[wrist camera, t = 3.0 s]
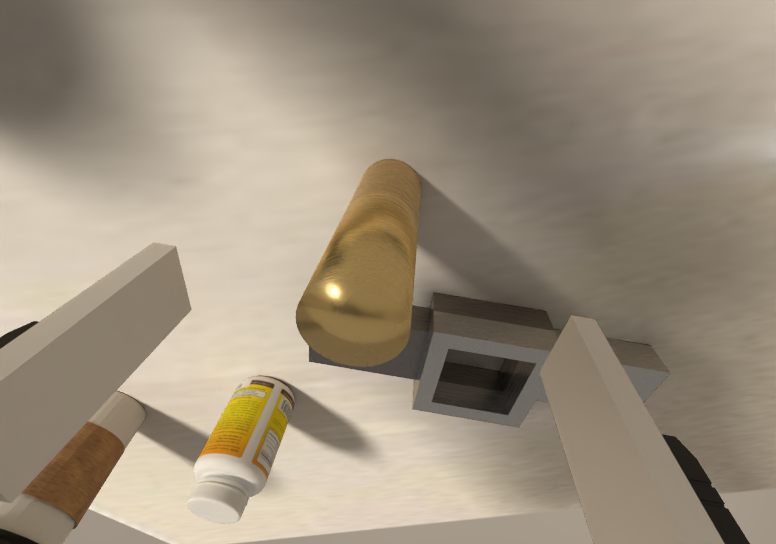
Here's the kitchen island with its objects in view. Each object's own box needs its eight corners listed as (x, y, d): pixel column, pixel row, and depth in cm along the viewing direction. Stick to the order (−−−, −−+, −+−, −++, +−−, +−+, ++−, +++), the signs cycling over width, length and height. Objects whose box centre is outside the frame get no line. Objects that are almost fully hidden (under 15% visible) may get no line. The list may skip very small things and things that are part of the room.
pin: (363, 154, 20) (294, 270, 10) (426, 164, 20) (419, 291, 10) (358, 212, 22) (297, 356, 12) (415, 221, 22) (401, 374, 12)
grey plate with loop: (317, 350, 29) (303, 390, 26) (319, 273, 25) (301, 309, 21) (607, 399, 29) (630, 446, 26) (662, 330, 24) (698, 376, 21)
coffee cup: (153, 393, 35) (4, 583, 23) (161, 436, 40) (40, 612, 28) (69, 371, 35) (-130, 554, 22) (87, 417, 40) (-70, 589, 27)
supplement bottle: (229, 388, 34) (161, 505, 25) (259, 364, 31) (195, 485, 23) (276, 416, 35) (227, 534, 27) (308, 395, 33) (265, 518, 24)
